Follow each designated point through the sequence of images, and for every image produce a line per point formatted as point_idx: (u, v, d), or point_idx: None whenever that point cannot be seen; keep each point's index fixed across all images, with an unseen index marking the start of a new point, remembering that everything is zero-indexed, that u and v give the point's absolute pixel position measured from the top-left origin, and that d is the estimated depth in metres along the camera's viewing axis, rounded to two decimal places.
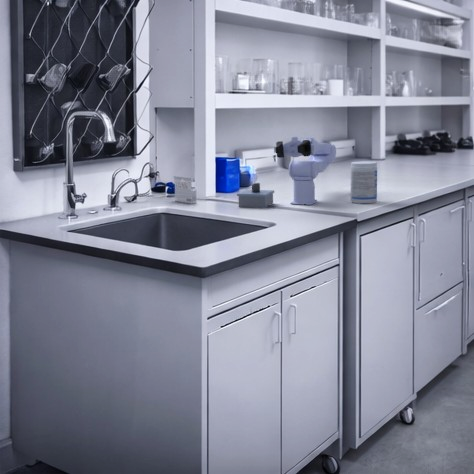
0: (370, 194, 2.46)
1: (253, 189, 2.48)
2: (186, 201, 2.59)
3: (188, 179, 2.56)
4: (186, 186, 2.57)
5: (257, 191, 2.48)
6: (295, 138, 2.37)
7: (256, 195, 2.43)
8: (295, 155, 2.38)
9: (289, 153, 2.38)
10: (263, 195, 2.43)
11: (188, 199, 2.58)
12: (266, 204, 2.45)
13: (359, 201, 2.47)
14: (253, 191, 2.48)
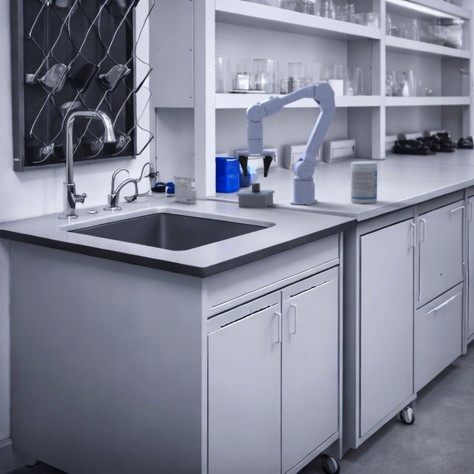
0: (371, 194, 2.46)
1: (253, 189, 2.48)
2: (186, 201, 2.59)
3: (188, 179, 2.56)
4: (186, 186, 2.57)
5: (257, 191, 2.48)
6: None
7: (256, 195, 2.43)
8: None
9: None
10: (263, 195, 2.43)
11: (188, 199, 2.58)
12: (266, 204, 2.45)
13: (359, 201, 2.47)
14: (253, 191, 2.48)
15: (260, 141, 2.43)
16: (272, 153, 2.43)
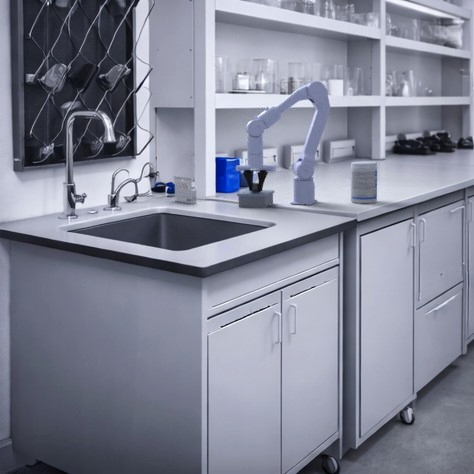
0: (371, 194, 2.46)
1: (253, 189, 2.48)
2: (186, 201, 2.59)
3: (188, 179, 2.56)
4: (186, 186, 2.57)
5: (257, 191, 2.48)
6: None
7: (256, 195, 2.43)
8: (253, 168, 2.45)
9: (259, 168, 2.45)
10: (263, 195, 2.43)
11: (188, 199, 2.58)
12: (266, 204, 2.45)
13: (359, 201, 2.47)
14: (253, 191, 2.48)
15: (260, 156, 2.44)
16: (272, 168, 2.44)
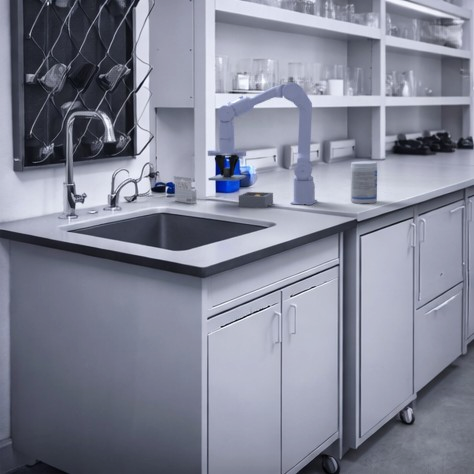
0: (371, 194, 2.46)
1: (224, 174, 2.52)
2: (186, 201, 2.59)
3: (188, 179, 2.56)
4: (186, 186, 2.57)
5: (228, 176, 2.52)
6: None
7: (227, 179, 2.47)
8: (224, 153, 2.49)
9: None
10: (234, 179, 2.47)
11: (188, 199, 2.58)
12: (266, 204, 2.45)
13: (359, 201, 2.47)
14: (224, 176, 2.52)
15: (231, 141, 2.48)
16: (243, 152, 2.48)
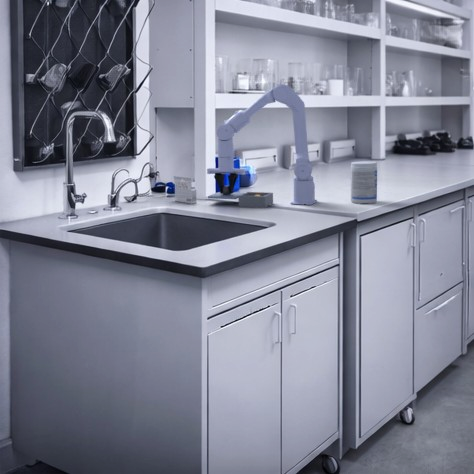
0: (370, 194, 2.46)
1: (224, 192, 2.53)
2: (186, 201, 2.59)
3: (188, 179, 2.56)
4: (186, 186, 2.57)
5: (228, 193, 2.53)
6: None
7: (226, 197, 2.49)
8: (223, 171, 2.51)
9: (229, 171, 2.51)
10: (233, 197, 2.48)
11: (188, 199, 2.58)
12: (266, 204, 2.45)
13: (359, 201, 2.47)
14: (224, 193, 2.53)
15: (230, 159, 2.50)
16: (242, 171, 2.50)
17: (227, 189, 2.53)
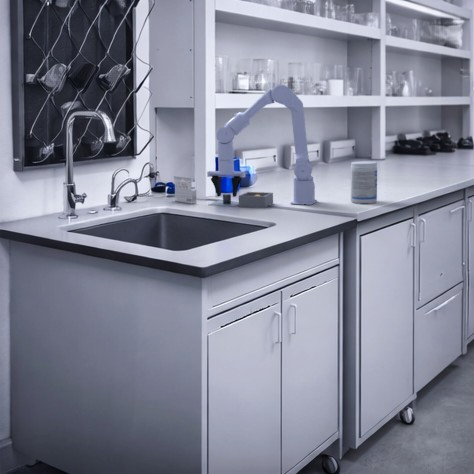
0: (370, 194, 2.46)
1: (224, 200, 2.54)
2: (186, 201, 2.59)
3: (188, 179, 2.56)
4: (186, 186, 2.57)
5: (228, 202, 2.54)
6: None
7: None
8: (223, 174, 2.51)
9: None
10: None
11: (188, 199, 2.58)
12: (266, 204, 2.45)
13: (359, 201, 2.47)
14: (224, 202, 2.54)
15: (230, 162, 2.50)
16: (242, 173, 2.50)
17: (227, 198, 2.53)
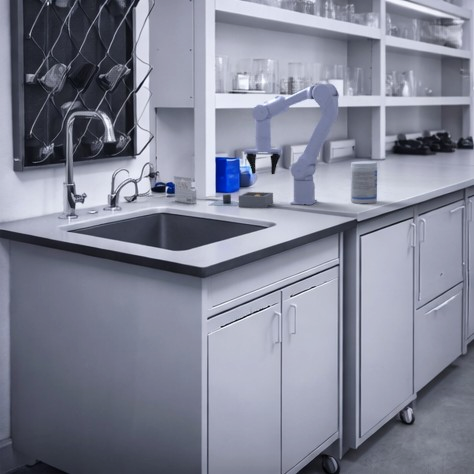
0: (370, 194, 2.46)
1: (224, 200, 2.54)
2: (186, 201, 2.59)
3: (188, 179, 2.56)
4: (186, 186, 2.57)
5: (228, 202, 2.54)
6: None
7: None
8: None
9: (266, 151, 2.53)
10: None
11: (188, 199, 2.58)
12: (266, 204, 2.45)
13: (359, 201, 2.47)
14: (224, 202, 2.54)
15: (268, 139, 2.52)
16: (279, 151, 2.52)
17: (227, 197, 2.53)
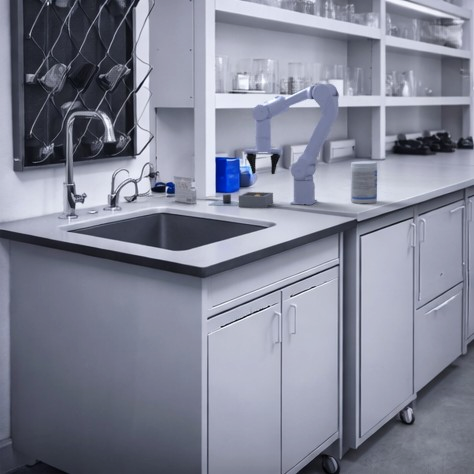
0: (370, 194, 2.46)
1: (224, 200, 2.54)
2: (186, 201, 2.59)
3: (188, 179, 2.56)
4: (186, 186, 2.57)
5: (228, 202, 2.54)
6: None
7: None
8: None
9: (267, 151, 2.53)
10: None
11: (188, 199, 2.58)
12: (266, 204, 2.45)
13: (359, 201, 2.47)
14: (224, 202, 2.54)
15: (268, 139, 2.52)
16: (279, 151, 2.52)
17: (227, 197, 2.53)
